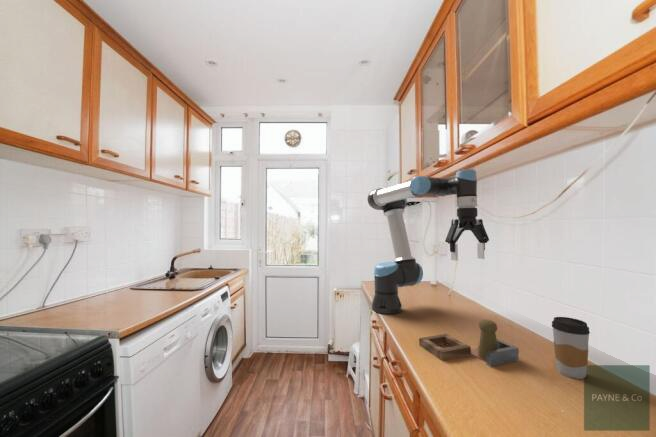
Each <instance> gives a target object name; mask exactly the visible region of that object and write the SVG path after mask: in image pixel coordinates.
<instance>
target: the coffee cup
mask: <svg viewBox="0 0 656 437" xmlns="http://www.w3.org/2000/svg"><path fill="white" fill-rule="evenodd" d="M551 327H552V333H553V347H554V357H555V361H556V369H557V370H558V372H559V373H560V374H562V375H563V376H565V377H568V378H571V379H577V380H583V378H584V379H585V377H587V370H588V369H587V368H588V362H589V361H588V360H589V338H590V337H589V336H590V333H591V332H590V327H589V326H588V324H587V322H586V321H583V320H581V319H577V318H572V317H568V316H566V317H565V316H554V317H553V320H552V322H551Z"/></svg>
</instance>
